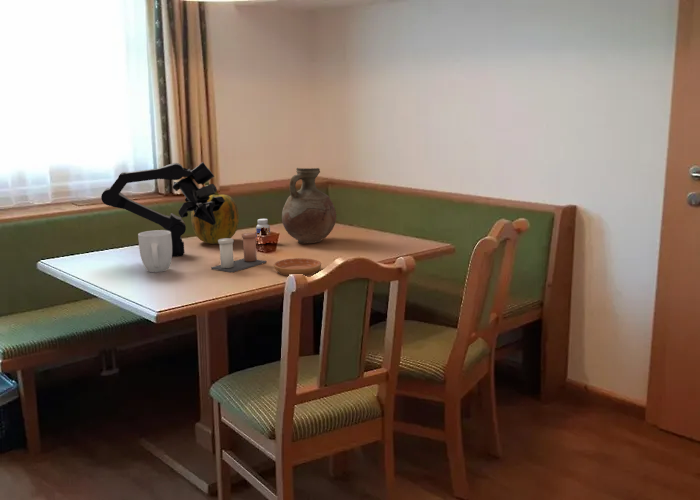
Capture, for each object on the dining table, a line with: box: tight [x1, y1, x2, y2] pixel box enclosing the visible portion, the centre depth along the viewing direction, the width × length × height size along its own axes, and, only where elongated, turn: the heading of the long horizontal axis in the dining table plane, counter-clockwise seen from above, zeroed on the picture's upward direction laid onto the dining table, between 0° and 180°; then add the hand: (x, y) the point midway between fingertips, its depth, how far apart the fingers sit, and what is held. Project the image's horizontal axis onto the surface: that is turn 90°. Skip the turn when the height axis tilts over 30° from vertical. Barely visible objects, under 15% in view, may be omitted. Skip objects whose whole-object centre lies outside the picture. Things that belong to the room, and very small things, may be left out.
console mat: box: [210, 257, 267, 273], centre depth 258 cm, size 10×17×1 cm, turn 144°
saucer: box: [273, 257, 322, 276], centre depth 248 cm, size 16×16×3 cm
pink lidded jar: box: [241, 232, 258, 262], centre depth 261 cm, size 5×5×9 cm
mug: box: [137, 229, 173, 273], centre depth 251 cm, size 15×11×13 cm
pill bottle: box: [255, 218, 271, 234], centre depth 294 cm, size 5×5×10 cm
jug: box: [281, 167, 337, 245], centre depth 292 cm, size 22×22×30 cm
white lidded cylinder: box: [218, 237, 235, 268], centre depth 252 cm, size 5×5×9 cm
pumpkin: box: [191, 180, 240, 245], centre depth 295 cm, size 19×19×25 cm
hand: (214, 224), depth 268 cm, fingers closed
